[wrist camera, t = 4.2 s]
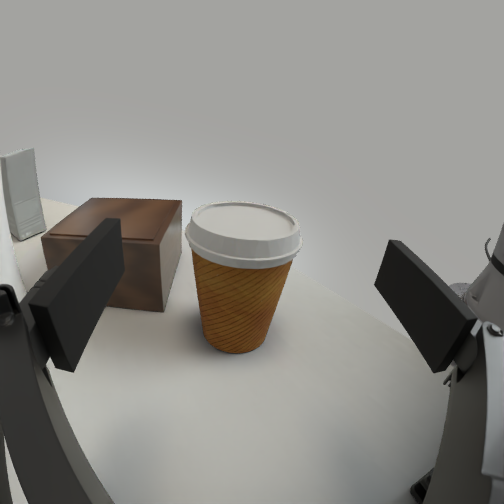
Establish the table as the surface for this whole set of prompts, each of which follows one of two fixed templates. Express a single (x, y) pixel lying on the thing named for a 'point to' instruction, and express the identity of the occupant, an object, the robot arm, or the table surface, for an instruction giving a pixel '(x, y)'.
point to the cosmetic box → (22, 194)
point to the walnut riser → (128, 246)
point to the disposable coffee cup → (240, 269)
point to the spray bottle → (8, 253)
